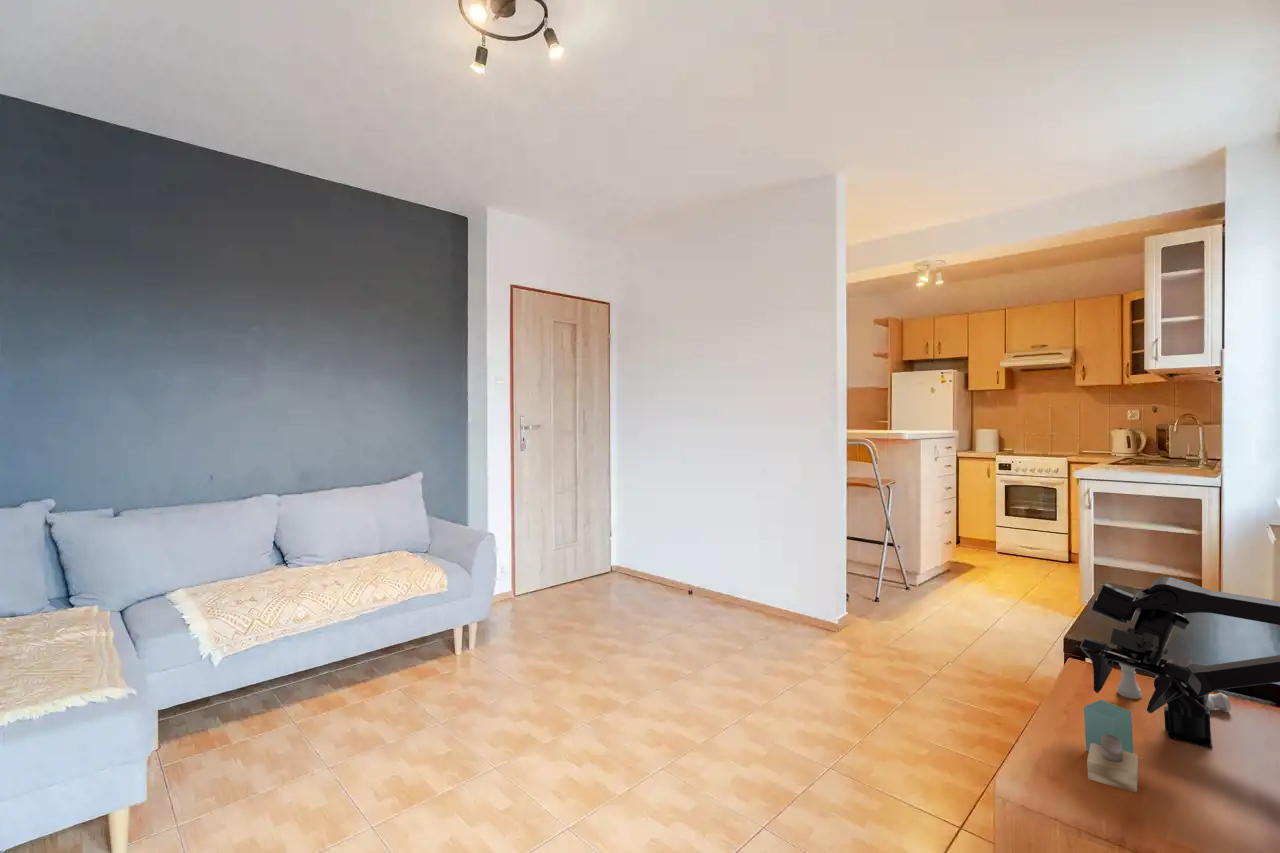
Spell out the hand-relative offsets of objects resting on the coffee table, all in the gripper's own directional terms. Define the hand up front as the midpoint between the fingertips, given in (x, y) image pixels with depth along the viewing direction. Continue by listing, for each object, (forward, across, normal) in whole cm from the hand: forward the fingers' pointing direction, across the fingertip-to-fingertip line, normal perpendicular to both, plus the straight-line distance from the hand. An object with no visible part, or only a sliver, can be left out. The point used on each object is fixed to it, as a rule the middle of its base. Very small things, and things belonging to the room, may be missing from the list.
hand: (1121, 701), depth 119 cm
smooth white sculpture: (-14, +1, +27) cm, 31 cm away
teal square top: (+10, 0, +4) cm, 10 cm away
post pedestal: (+14, +4, -1) cm, 15 cm away
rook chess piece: (-10, -10, +23) cm, 27 cm away
